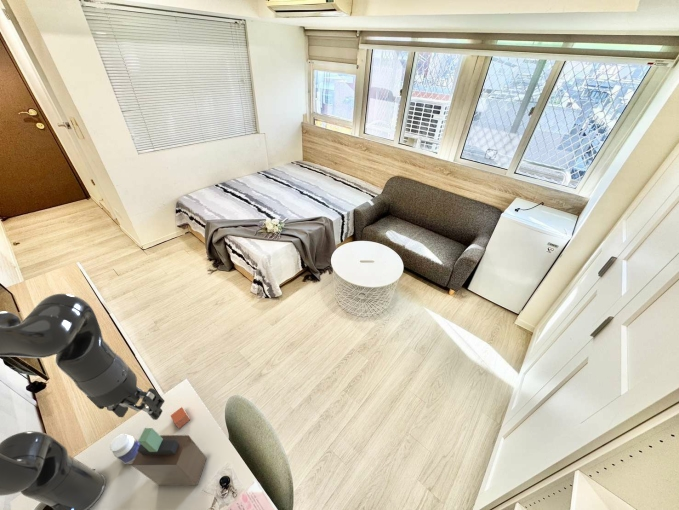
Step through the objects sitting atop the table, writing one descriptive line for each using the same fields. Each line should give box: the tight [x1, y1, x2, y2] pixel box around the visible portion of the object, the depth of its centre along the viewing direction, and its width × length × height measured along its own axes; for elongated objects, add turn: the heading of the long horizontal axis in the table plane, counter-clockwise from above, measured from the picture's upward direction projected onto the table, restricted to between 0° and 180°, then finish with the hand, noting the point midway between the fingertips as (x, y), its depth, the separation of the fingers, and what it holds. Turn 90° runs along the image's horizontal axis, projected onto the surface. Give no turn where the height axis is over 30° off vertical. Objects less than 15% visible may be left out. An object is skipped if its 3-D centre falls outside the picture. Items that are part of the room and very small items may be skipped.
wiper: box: [137, 427, 179, 455], centre depth 71 cm, size 9×3×10 cm, turn 90°
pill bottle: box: [109, 433, 140, 465], centre depth 85 cm, size 6×6×10 cm
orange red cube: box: [170, 406, 191, 429], centre depth 95 cm, size 4×4×4 cm
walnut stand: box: [131, 434, 208, 486], centre depth 79 cm, size 12×7×18 cm, turn 90°
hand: (141, 414), depth 64 cm, fingers open, 8 cm apart
